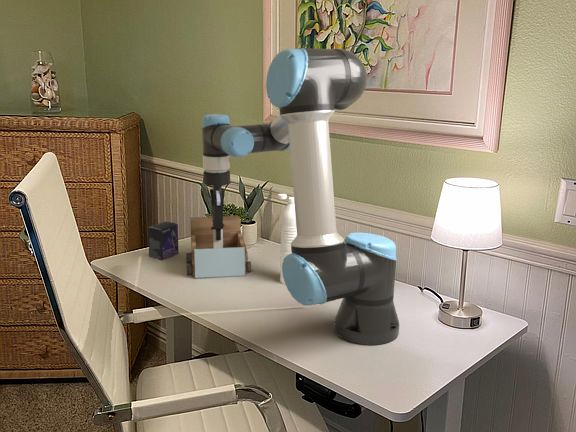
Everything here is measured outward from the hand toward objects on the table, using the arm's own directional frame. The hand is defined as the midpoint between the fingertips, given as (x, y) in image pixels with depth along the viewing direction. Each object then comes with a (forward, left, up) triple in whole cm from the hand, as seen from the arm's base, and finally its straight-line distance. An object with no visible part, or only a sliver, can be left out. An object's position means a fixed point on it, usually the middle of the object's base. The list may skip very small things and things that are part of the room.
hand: (218, 249), depth 180 cm
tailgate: (-7, 0, -6) cm, 9 cm away
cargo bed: (+4, 0, -7) cm, 8 cm away
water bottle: (-12, -19, -7) cm, 23 cm away
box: (+14, +16, -7) cm, 23 cm away
